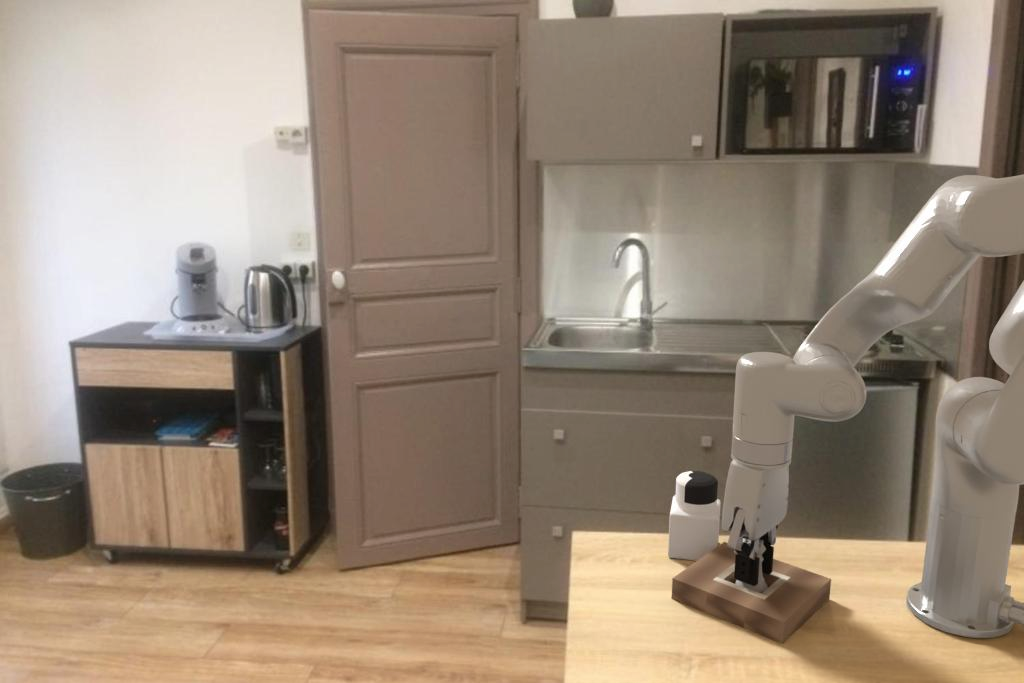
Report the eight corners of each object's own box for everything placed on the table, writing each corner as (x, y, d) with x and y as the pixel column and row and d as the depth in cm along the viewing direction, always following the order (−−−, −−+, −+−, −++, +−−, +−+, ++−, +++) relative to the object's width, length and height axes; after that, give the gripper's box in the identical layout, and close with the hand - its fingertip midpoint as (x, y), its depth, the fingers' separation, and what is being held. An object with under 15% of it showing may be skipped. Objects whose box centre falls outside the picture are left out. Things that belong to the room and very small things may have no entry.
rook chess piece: (769, 605, 116) (772, 549, 115) (734, 602, 117) (737, 546, 116) (766, 589, 121) (769, 535, 119) (732, 586, 122) (735, 532, 120)
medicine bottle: (718, 541, 135) (722, 468, 132) (717, 564, 129) (721, 487, 126) (671, 536, 137) (674, 464, 134) (667, 558, 130) (670, 483, 127)
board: (829, 598, 119) (831, 578, 118) (782, 643, 109) (784, 622, 108) (723, 560, 130) (724, 541, 129) (671, 598, 120) (672, 578, 119)
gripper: (764, 425, 122) (756, 545, 127) (703, 459, 111) (696, 590, 115) (816, 437, 117) (806, 562, 122) (758, 474, 106) (749, 611, 110)
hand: (753, 575), depth 118 cm, fingers closed on rook chess piece, 3 cm apart
